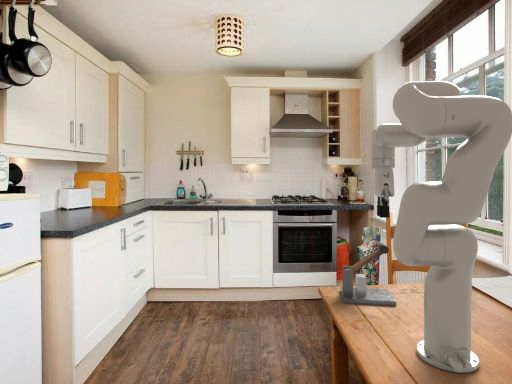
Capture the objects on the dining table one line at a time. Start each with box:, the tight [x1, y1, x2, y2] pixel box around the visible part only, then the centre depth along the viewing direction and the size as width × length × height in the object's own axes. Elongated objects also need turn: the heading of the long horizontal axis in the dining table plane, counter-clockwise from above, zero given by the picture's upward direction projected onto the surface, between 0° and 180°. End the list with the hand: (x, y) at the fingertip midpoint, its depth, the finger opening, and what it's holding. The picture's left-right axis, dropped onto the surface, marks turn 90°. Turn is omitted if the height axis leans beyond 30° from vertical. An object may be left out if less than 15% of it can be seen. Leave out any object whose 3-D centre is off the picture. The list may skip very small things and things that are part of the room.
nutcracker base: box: [340, 265, 397, 307], centre depth 112 cm, size 12×17×10 cm
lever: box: [347, 242, 390, 274], centre depth 112 cm, size 6×17×3 cm
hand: (383, 216), depth 110 cm, fingers open, 3 cm apart
